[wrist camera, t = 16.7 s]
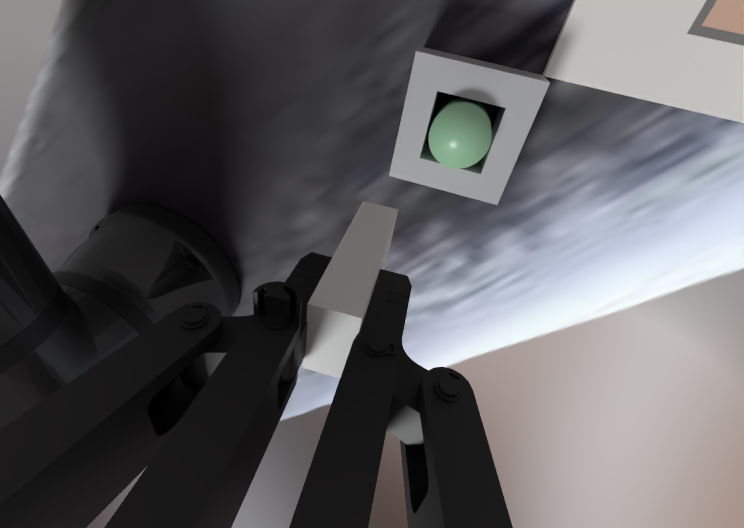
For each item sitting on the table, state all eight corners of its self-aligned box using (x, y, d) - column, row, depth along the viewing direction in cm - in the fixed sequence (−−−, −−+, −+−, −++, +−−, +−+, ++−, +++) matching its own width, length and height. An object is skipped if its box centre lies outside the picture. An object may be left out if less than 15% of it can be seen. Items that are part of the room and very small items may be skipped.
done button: (426, 148, 23) (421, 160, 21) (441, 91, 21) (438, 98, 19) (478, 162, 22) (478, 175, 21) (500, 105, 20) (501, 114, 19)
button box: (397, 160, 25) (389, 175, 23) (423, 47, 21) (416, 50, 19) (495, 186, 25) (497, 205, 22) (542, 74, 20) (550, 82, 18)
